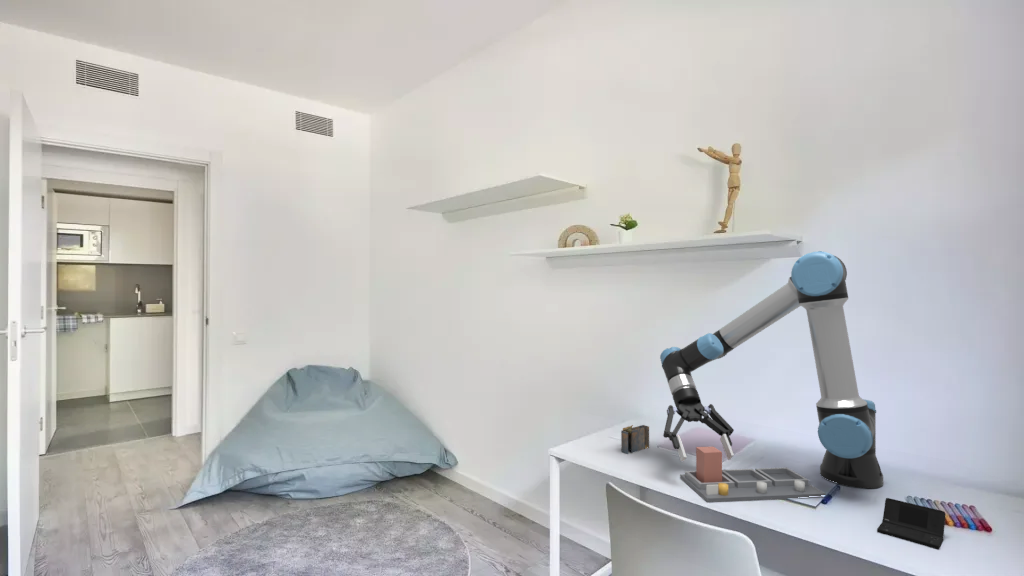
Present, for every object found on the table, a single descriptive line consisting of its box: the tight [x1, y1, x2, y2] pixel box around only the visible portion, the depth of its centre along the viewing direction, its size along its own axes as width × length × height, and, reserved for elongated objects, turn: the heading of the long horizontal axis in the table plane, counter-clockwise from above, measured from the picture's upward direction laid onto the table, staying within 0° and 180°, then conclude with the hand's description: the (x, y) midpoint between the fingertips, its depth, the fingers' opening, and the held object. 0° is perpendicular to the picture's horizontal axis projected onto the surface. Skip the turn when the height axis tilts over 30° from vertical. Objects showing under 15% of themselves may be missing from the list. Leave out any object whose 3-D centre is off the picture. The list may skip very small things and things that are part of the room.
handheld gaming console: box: [876, 497, 946, 550], centre depth 115 cm, size 12×7×10 cm
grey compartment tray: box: [679, 467, 827, 503], centre depth 142 cm, size 32×17×3 cm, turn 95°
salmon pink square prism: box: [695, 446, 723, 483], centre depth 143 cm, size 5×5×9 cm
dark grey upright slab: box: [620, 424, 650, 455], centre depth 175 cm, size 11×3×10 cm, turn 128°
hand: (707, 458), depth 143 cm, fingers open, 13 cm apart
